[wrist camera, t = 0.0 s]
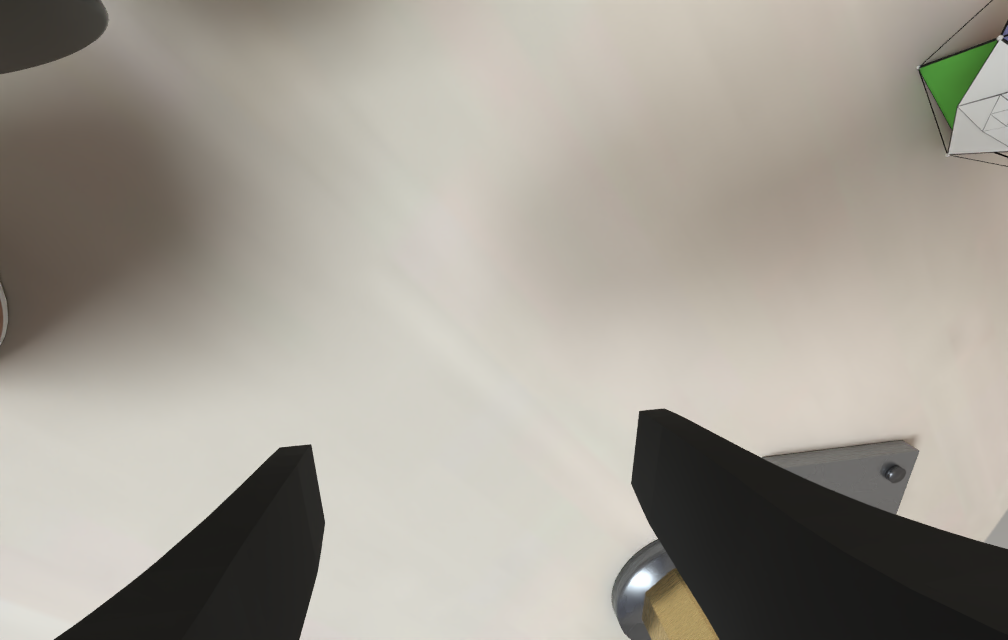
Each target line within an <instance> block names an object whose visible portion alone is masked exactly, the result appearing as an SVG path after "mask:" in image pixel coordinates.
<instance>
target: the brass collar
mask: <svg viewBox="0 0 1008 640" xmlns="http://www.w3.org/2000/svg"><path fill="white" fill-rule="evenodd" d="M642 620H643V622H644V625H645V627H646V629H647V631H648V633H649V635H650V637H651V639H652V640H719V638H718V636H717V635H716V633H715V631H714V629H713V627H712V626H711V624H710V622H709V620H708V619H707V617H706V615H705V614H704V612H703V611H702V609H701V607H700V606H699V604H698V603H697V601H696V599H695V598H694V596H693V594H692V593H691V591H690V590H689V588H688V586H687V585H686V583H685V582H684V580H683V578H682V577H681V575H680V574H679V572H678V570H677V569H676V568H675V569H672V570H671V571H670V572H669V573H667V574H666V575H665V576H664V577H663V578H662V579H660V580H659V581H658V582H657V583H656V584H655V585H653V586H652V587H651V588H650V589H649V590H648V591H646V592H645V599H644V606H643V613H642Z"/></svg>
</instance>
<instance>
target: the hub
mask: <svg viewBox="0 0 1008 640" xmlns="http://www.w3.org/2000/svg"><path fill="white" fill-rule="evenodd" d="M918 453H919V450H918V449H916V448H914V447H913V446H911V445H909V444H908V443H906V442H905V441H903V440H900V441H892V442H884V443H876V444H867V445H859V446H851V447H843V448H835V449H827V450H819V451H811V452H803V453H795V454H787V455H779V456H771V457H763V459H765V460H767V461H769V462H771V463H773V464H775V465H777V466H779V467H781V468H784V469H786V470H788V471H790V472H792V473H794V474H796V475H799V476H801V477H803V478H805V479H807V480H809V481H812V482H814V483H816V484H819V485H821V486H823V487H826V488H828V489H830V490H833V491H835V492H838V493H840V494H843V495H845V496H848V497H850V498H853V499H855V500H858V501H860V502H863V503H865V504H868V505H871V506H873V507H876V508H879V509H882V510H884V511H887V512H890V513H893V514H895V515H896V513H897V511H898V508H899V505H900V502H901V500H902V497H903V494H904V491H905V489H906V486H907V483H908V481H909V478H910V475H911V472H912V470H913V467H914V464H915V462H916V459H917V456H918Z"/></svg>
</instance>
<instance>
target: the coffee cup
mask: <svg viewBox="0 0 1008 640" xmlns="http://www.w3.org/2000/svg"><path fill="white" fill-rule="evenodd" d="M7 324H8V309H7V301H6V298H5V294H4V291H3V288H2V285H1V283H0V345H1V343H2V341H3V339H4V337H5V334H6V329H7Z"/></svg>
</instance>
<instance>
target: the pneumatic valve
mask: <svg viewBox="0 0 1008 640" xmlns="http://www.w3.org/2000/svg"><path fill="white" fill-rule="evenodd" d="M108 21H109V18H108V13H107V11H106V8H105V7H104V5H103V3H102V1H101V0H0V74H5V73H10V72H14V71H19V70H23V69H27V68H31V67H35V66H39V65H42V64H46V63H49V62H52V61H55V60H58V59H61V58H63V57H66V56H68V55H71V54H73V53H75V52H77V51H79V50H81V49H83V48H85V47H87V46H88V45H90V44H91V43H93V42H94V41H96V40H97V39H98V38H99V37H100V36H101V35H102V34H103V33H104V31H105V30H106V28H107V26H108Z"/></svg>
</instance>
